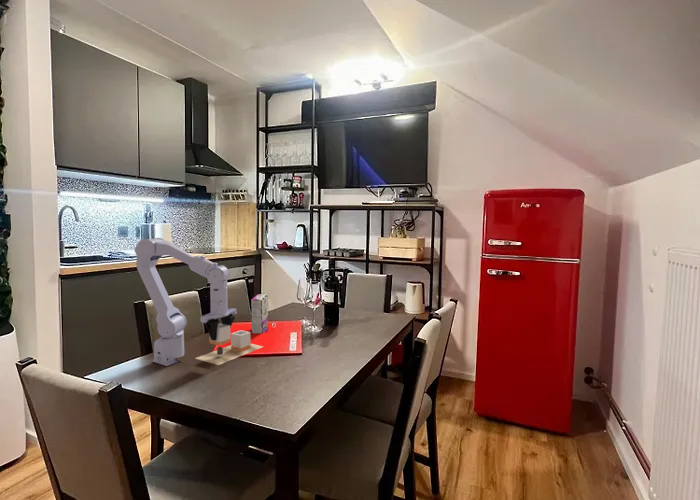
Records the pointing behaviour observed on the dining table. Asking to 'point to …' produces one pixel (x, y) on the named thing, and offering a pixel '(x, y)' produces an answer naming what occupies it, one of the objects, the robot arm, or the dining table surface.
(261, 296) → the candy bar box
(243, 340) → the seated sleeve
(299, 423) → the dining table surface
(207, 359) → the pin board
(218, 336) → the loose sleeve
